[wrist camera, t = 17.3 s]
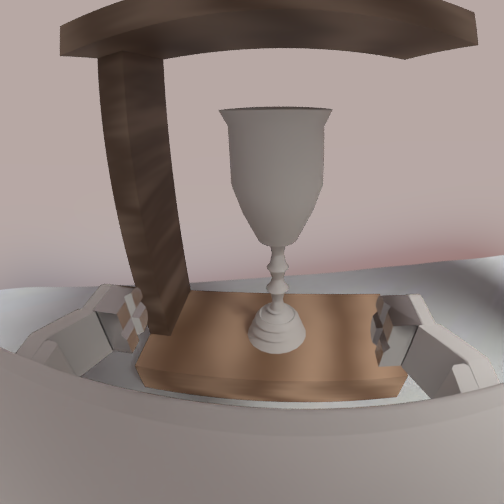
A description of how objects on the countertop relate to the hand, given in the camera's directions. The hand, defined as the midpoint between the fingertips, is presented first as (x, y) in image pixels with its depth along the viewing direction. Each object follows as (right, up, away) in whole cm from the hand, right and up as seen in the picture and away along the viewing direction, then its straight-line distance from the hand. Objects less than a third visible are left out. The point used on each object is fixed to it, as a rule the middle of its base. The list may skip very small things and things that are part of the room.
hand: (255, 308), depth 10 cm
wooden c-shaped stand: (+2, -8, +17) cm, 19 cm away
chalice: (+2, -5, +16) cm, 17 cm away
